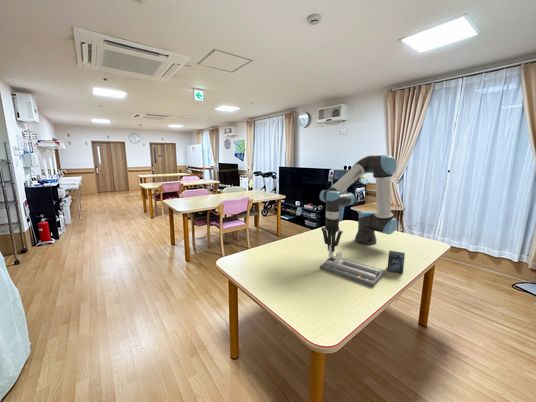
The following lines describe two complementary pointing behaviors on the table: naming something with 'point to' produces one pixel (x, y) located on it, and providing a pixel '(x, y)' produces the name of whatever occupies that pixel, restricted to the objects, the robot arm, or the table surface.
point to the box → (396, 261)
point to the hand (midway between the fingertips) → (330, 256)
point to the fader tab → (339, 258)
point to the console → (354, 271)
